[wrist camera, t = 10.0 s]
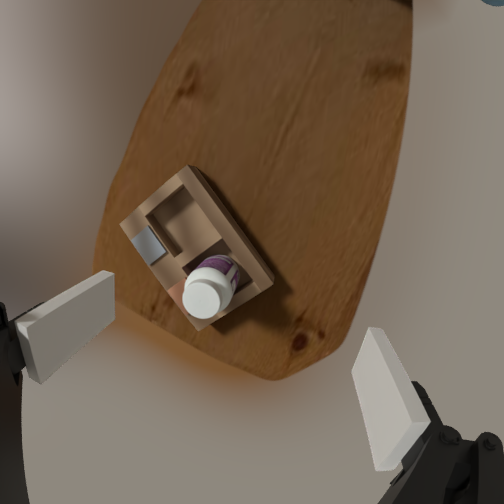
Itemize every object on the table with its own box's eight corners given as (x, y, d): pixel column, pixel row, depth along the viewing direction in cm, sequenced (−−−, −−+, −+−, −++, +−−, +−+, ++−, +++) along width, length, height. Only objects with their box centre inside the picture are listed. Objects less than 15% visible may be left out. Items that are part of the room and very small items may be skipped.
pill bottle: (192, 269, 38) (165, 294, 29) (222, 245, 37) (202, 264, 28) (218, 300, 39) (198, 334, 29) (249, 278, 38) (237, 307, 28)
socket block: (195, 166, 36) (186, 164, 32) (274, 275, 38) (273, 285, 34) (132, 221, 39) (117, 224, 35) (204, 320, 41) (197, 332, 37)
